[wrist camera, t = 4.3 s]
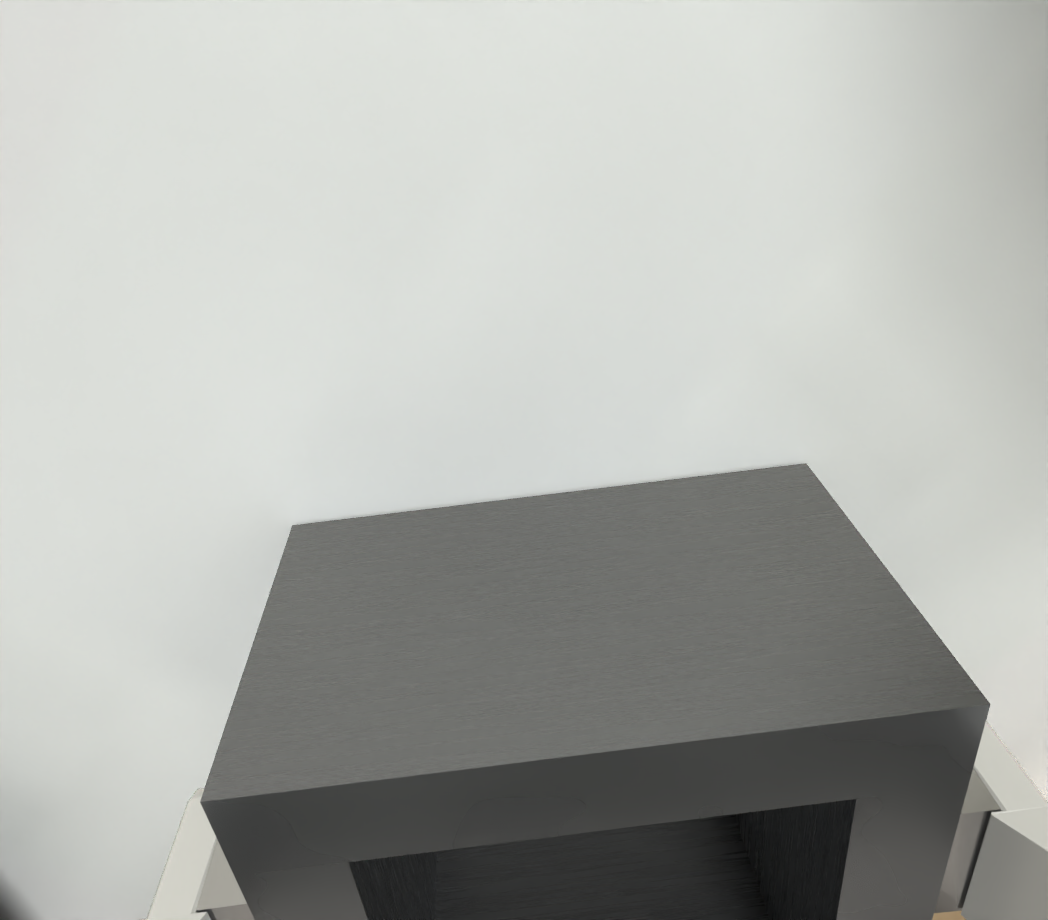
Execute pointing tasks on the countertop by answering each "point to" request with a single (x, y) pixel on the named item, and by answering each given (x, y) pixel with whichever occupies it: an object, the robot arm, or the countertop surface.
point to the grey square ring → (595, 715)
